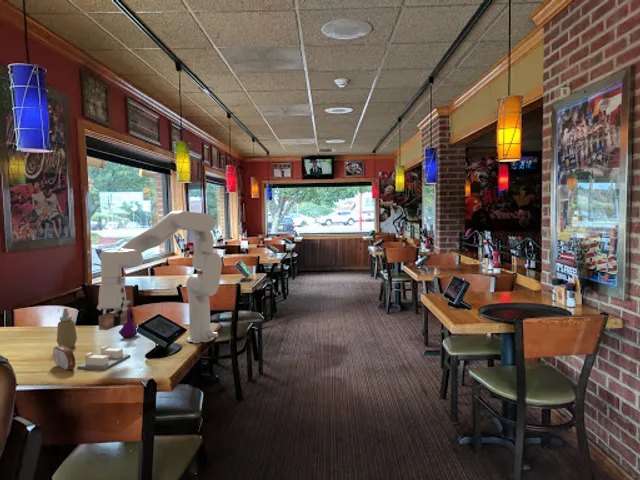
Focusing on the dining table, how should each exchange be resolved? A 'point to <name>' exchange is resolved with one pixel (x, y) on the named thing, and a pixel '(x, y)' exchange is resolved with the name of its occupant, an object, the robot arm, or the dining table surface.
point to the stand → (103, 359)
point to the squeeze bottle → (66, 331)
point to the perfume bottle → (128, 326)
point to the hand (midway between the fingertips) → (112, 324)
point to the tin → (64, 357)
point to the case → (110, 320)
